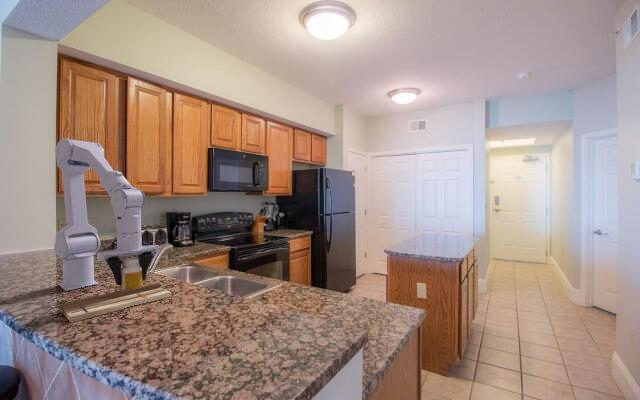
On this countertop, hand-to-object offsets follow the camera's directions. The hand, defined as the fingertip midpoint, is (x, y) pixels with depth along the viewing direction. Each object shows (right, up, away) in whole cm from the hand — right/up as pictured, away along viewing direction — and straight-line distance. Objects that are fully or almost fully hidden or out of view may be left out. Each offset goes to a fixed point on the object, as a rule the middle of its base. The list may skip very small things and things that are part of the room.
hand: (130, 281), depth 84 cm
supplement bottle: (0, -4, 0) cm, 4 cm away
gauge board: (+2, -4, -8) cm, 9 cm away
